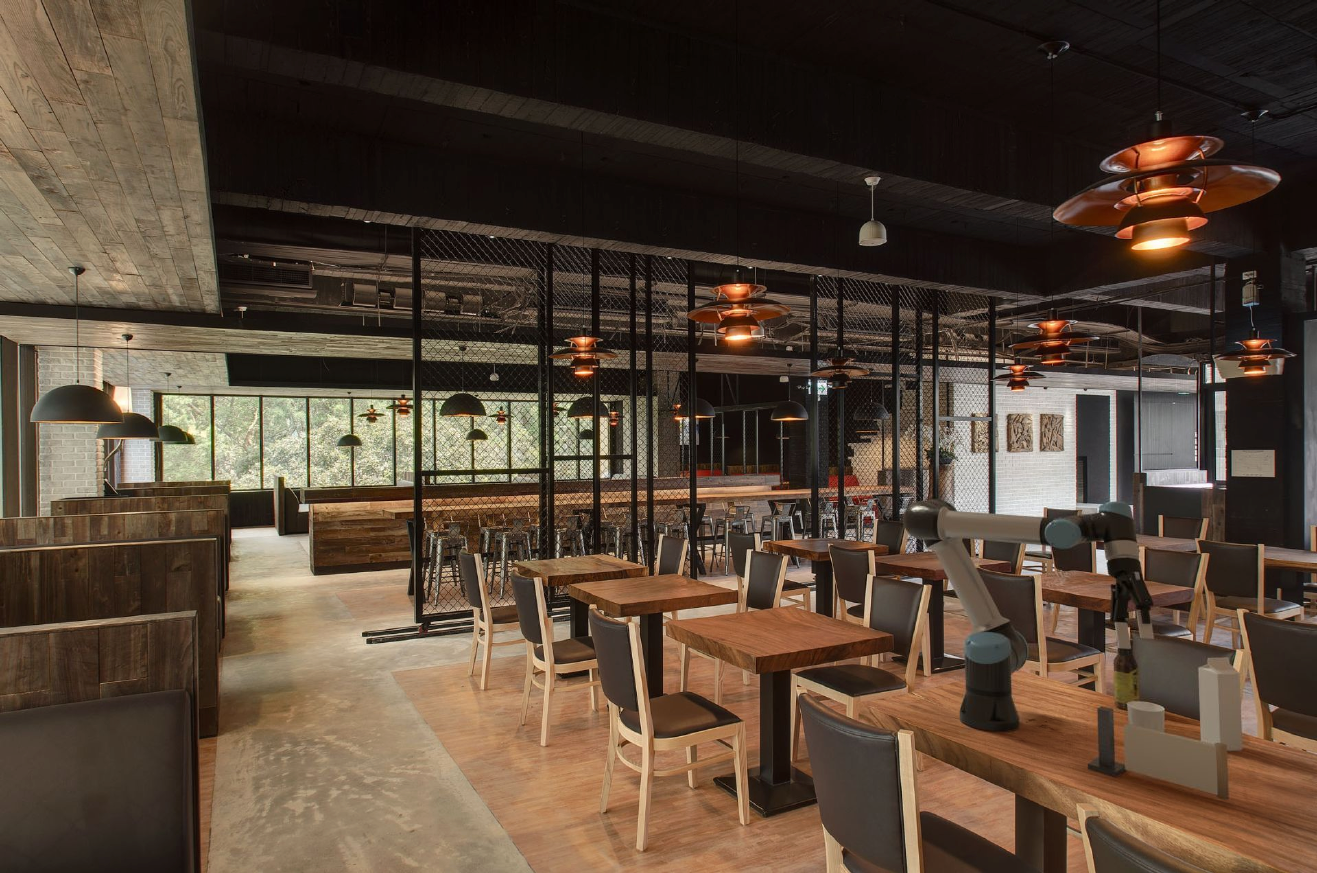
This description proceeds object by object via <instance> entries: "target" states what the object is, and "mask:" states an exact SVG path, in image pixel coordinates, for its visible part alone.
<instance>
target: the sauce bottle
mask: <svg viewBox="0 0 1317 873" xmlns="http://www.w3.org/2000/svg"><path fill="white" fill-rule="evenodd" d="M1116 645H1118V643H1117V642H1116ZM1130 645H1131V649H1123V648H1118V647H1117V654H1116V656H1115V657H1114V659H1113V692H1114V705H1115V707H1117V708H1118V709H1121V710H1125V711H1126V710H1127V711H1128V707H1127V703H1128V702H1132V701H1141V700H1140V679H1139V678H1140V676H1139V675H1140V674H1139V671H1140V670H1139V665H1138V663H1137V660H1136V658H1135V656H1134V652H1133V646H1134V640H1133V639H1132V638H1130Z"/></svg>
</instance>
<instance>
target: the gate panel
mask: <svg viewBox="0 0 1317 873" xmlns="http://www.w3.org/2000/svg"><path fill="white" fill-rule="evenodd" d="M1123 740H1124V741H1123V742H1124V743H1123V744H1124V745H1123V746H1124V747H1123V748H1124V764H1125V769H1126V771H1128V772H1130V771H1131V772H1133V773H1137V774H1140V775H1144V776H1148V777H1150V778H1151V777H1152V778H1155V779H1158V780H1162V781H1165V782H1169V783H1172V784H1176V785H1179V786H1184V787H1187V788H1191V789H1194V790H1198V791H1202V792H1204V793H1205V792H1206V793H1208V794H1211V795H1215V796H1216V797H1217V798H1218V799H1221V800H1223V801H1224V800H1225V801H1229V800H1230V798H1229V795H1230V794H1229V770H1228V769H1229V767H1228V765H1229V764H1228V751H1227V745H1226V744H1223V743H1215V744H1211V743H1207V742H1203V741H1201V740H1198V739H1194V738H1191V737H1190V738H1189V737H1186V736H1181V735H1177V734H1174V733H1169V732H1165V731H1164V732H1161V731H1156V730H1152V729H1148V728H1144V727H1139V726H1135V725H1131V724H1129V723H1127V722H1126V723H1124V724H1123Z"/></svg>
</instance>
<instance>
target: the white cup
mask: <svg viewBox="0 0 1317 873" xmlns="http://www.w3.org/2000/svg"><path fill="white" fill-rule="evenodd" d="M1127 707H1128V710H1127V717H1128V719H1127V720H1128V724H1131V725H1135V726H1139V727H1144V728H1148V729H1152V730H1156V731H1161V732H1165V719H1166V718H1165V711H1166V710H1165V707H1163V706H1162V705H1159V704H1156V703H1152V702H1147V701H1141V700H1140V701H1132V702H1128V703H1127Z"/></svg>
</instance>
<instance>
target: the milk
mask: <svg viewBox="0 0 1317 873" xmlns="http://www.w3.org/2000/svg"><path fill="white" fill-rule="evenodd" d="M1206 661H1207V664H1204V665H1202V666H1199V667H1198V669H1197V670H1198V692H1199V693H1198V696H1199V697H1198V699H1199V720H1200V722H1199V724H1200V741H1203V742H1207V743H1211V744H1215V743H1223V744H1226V745H1227V752H1233V751H1234V752H1235V751H1243V725H1242V724H1243V721H1242V696H1241V673H1240V671H1238V670H1237V669H1236V668H1235V667H1234V666H1233V665H1232V664H1231V663H1230V657H1208V658H1207V660H1206Z"/></svg>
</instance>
